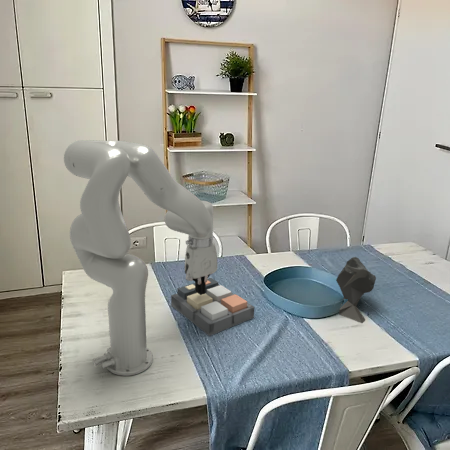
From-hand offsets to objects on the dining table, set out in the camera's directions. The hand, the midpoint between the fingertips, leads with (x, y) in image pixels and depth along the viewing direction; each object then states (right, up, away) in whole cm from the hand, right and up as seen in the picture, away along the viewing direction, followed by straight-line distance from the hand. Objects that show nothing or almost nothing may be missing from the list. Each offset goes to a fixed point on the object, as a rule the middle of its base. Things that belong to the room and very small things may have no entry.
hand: (200, 292), depth 142 cm
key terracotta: (+11, -5, 0) cm, 12 cm away
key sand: (0, -4, +1) cm, 5 cm away
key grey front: (+5, -7, -5) cm, 9 cm away
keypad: (+4, -7, +4) cm, 9 cm away
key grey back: (+6, -3, +6) cm, 9 cm away
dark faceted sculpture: (+52, -7, +10) cm, 53 cm away
